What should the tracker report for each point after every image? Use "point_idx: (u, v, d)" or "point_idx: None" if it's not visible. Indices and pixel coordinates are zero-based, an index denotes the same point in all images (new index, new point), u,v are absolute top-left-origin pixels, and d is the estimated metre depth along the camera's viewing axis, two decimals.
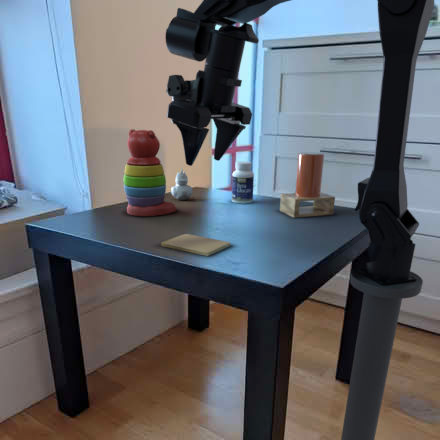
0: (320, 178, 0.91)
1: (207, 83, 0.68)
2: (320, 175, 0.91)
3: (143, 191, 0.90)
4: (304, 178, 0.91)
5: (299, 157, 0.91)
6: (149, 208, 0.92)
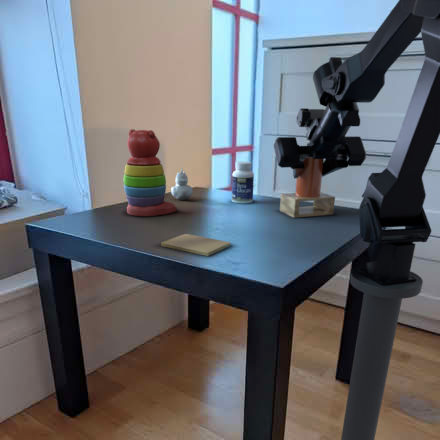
0: (320, 178, 0.91)
1: (314, 132, 0.82)
2: (320, 175, 0.91)
3: (143, 191, 0.90)
4: (304, 178, 0.91)
5: None
6: (149, 208, 0.92)
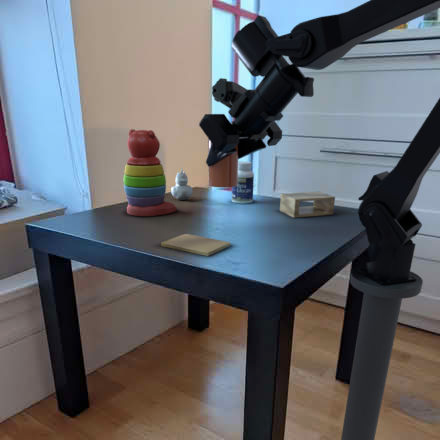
0: None
1: (250, 107, 0.68)
2: None
3: (143, 191, 0.90)
4: (226, 164, 0.76)
5: None
6: (149, 208, 0.92)
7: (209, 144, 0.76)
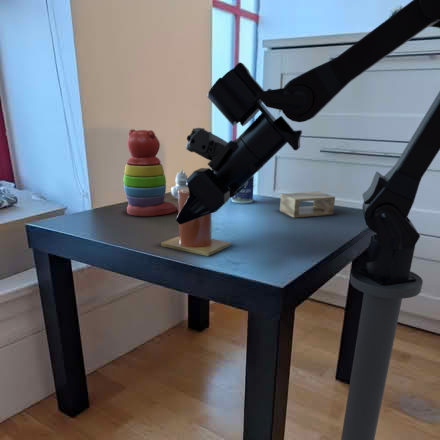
0: None
1: (235, 160, 0.63)
2: None
3: (143, 191, 0.90)
4: (203, 222, 0.69)
5: None
6: (149, 208, 0.92)
7: (182, 201, 0.68)
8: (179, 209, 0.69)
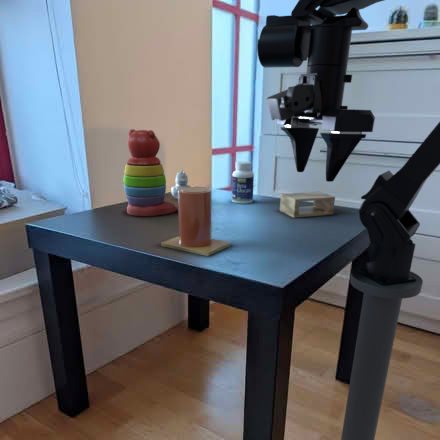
0: None
1: (332, 85, 0.59)
2: None
3: (143, 191, 0.90)
4: (203, 222, 0.69)
5: (191, 197, 0.67)
6: (149, 208, 0.92)
7: (182, 201, 0.68)
8: (179, 209, 0.69)
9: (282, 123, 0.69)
